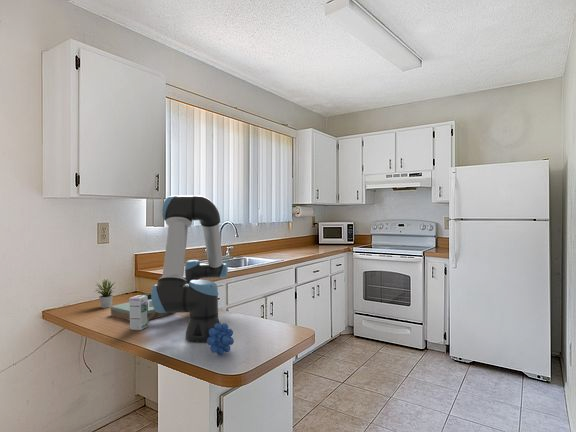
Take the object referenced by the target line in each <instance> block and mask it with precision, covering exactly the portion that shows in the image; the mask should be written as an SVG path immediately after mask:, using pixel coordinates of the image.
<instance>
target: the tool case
mask: <svg viewBox="0 0 576 432" xmlns="http://www.w3.org/2000/svg"><path fill="white" fill-rule="evenodd" d="M171 314H172V313H158V312H153V313H149V314H148V321H149V320H152V319H153V320H154V319H156V318H160V317H163V316H168V315H171ZM110 316H112V317H116V318H119V319H120V318H121V319H124V320H128V321H130V314H128V313H123V312H119V311H115V310H111V309H110Z"/></svg>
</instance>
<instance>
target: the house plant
mask: <svg viewBox="0 0 576 432" xmlns="http://www.w3.org/2000/svg"><path fill="white" fill-rule="evenodd" d="M114 284H115V282H113V283H112V284H111V281H110V280H109V278H107V279H104V280H102V285H101V284H100V283H99V282H96V286H97V287H98V288H95V291H93V292H94V293H95V292H97V294H100V295H99V297H98V299H99V303H100V307H101V309H108V308H107V307H109V308H110V306H113V305H112V303H113V297H114V295H113V294H112V293H113V292H115V290H114V291H113V289H115V287H114ZM112 287H113V288H112Z"/></svg>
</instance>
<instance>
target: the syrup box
mask: <svg viewBox="0 0 576 432" xmlns="http://www.w3.org/2000/svg"><path fill="white" fill-rule="evenodd" d="M131 297H132V298H131ZM131 297H129V301H128V302H129V306H130V320H129V329H130V330H132V331H133V330H134V331H142V330H143V329H145V328H148V327H149V326H150V325H149V320H148V296H147V295H142V294H138V295H135V296H131Z"/></svg>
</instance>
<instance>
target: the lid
mask: <svg viewBox="0 0 576 432" xmlns="http://www.w3.org/2000/svg"><path fill="white" fill-rule="evenodd" d="M151 300H152V299H150V300H148V314H149V313H153V312H156V311H155V310H154V308H153V307H149V301H151ZM109 309H110V311H111V310H115V311H119V312H123V313H128V314H130V306H129V301H128V302H124V303H120V304H114V305H111V306H110V307H109Z"/></svg>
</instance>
